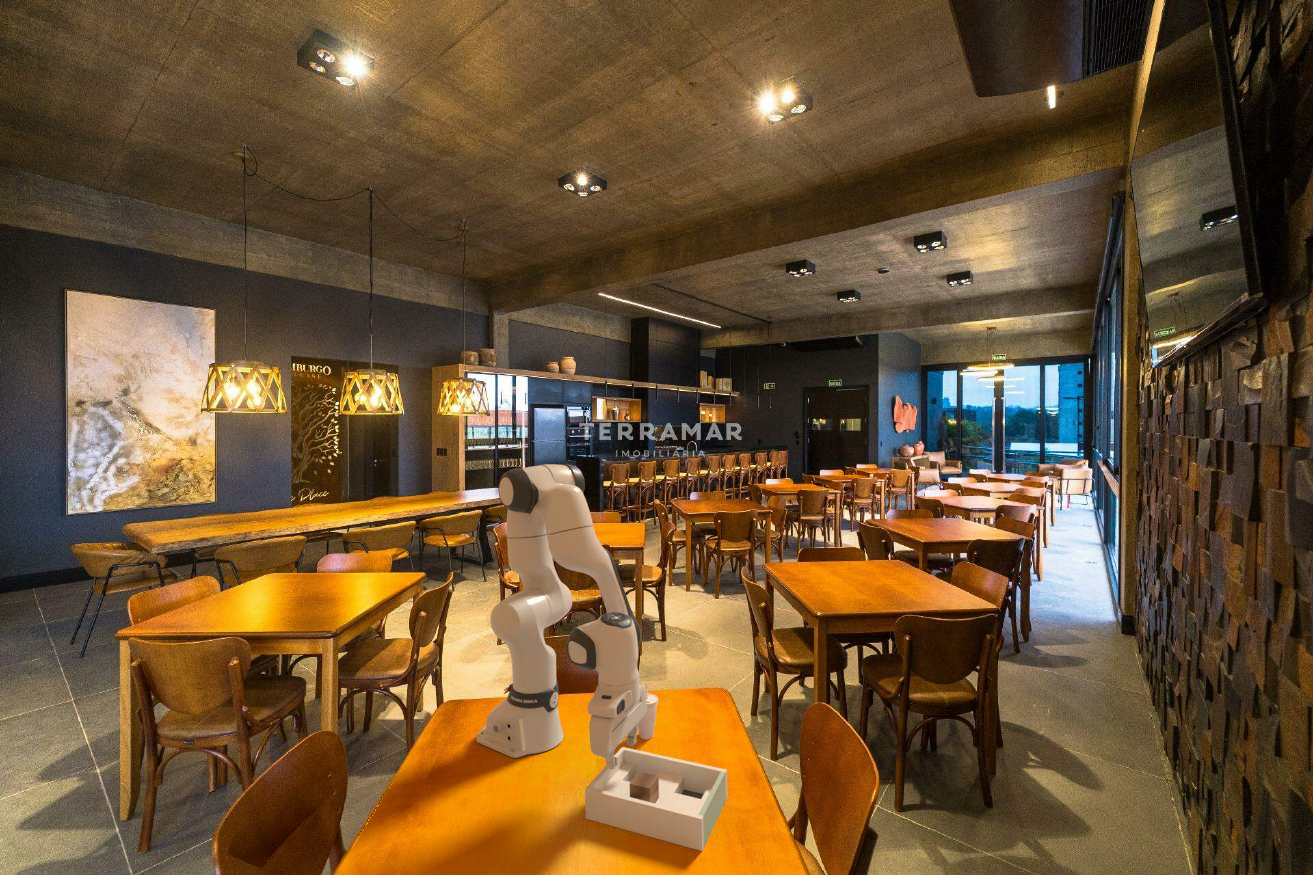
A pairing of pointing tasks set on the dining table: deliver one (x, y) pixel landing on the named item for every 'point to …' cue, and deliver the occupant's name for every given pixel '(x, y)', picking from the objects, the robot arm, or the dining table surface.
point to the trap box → (683, 798)
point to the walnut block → (645, 787)
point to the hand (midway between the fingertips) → (622, 755)
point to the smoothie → (648, 716)
